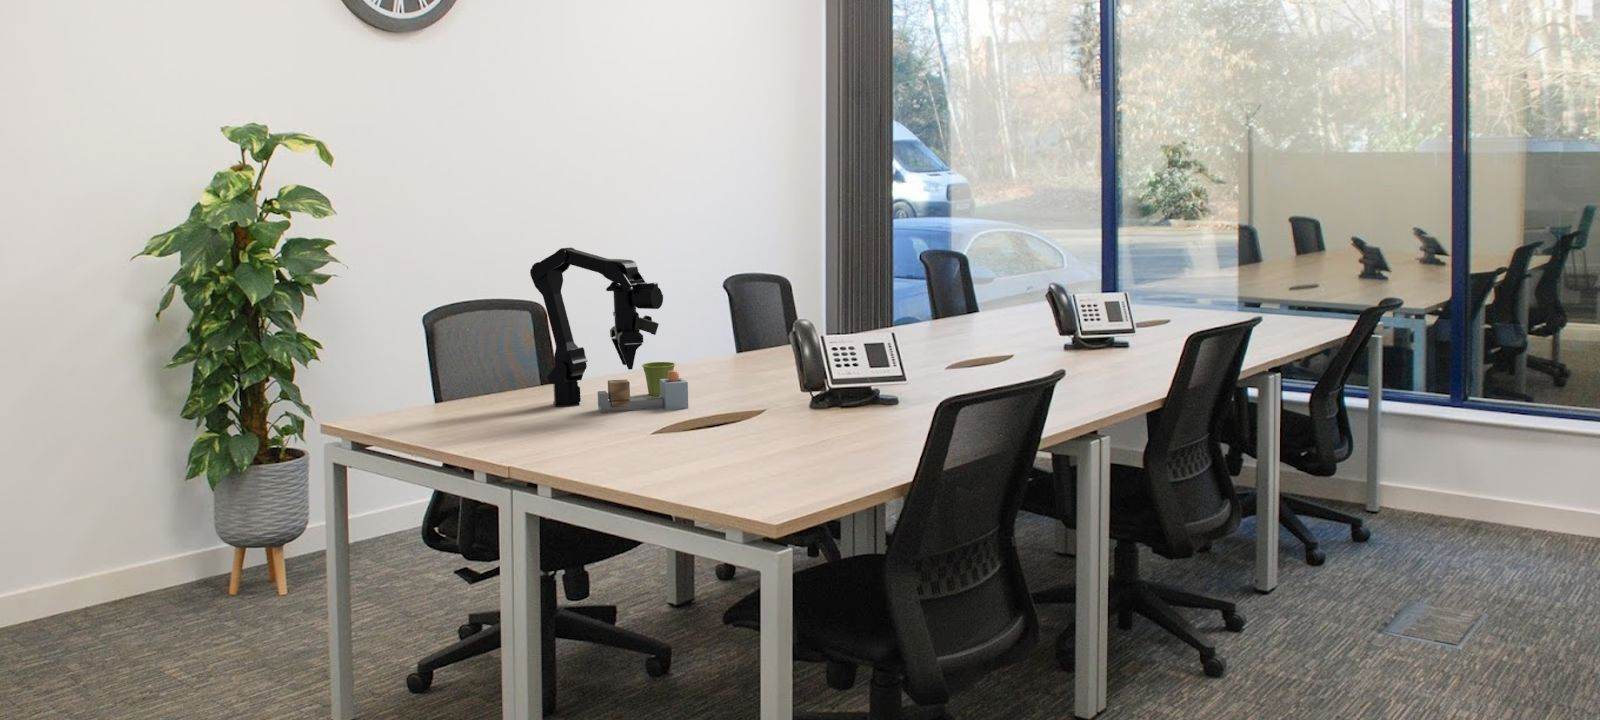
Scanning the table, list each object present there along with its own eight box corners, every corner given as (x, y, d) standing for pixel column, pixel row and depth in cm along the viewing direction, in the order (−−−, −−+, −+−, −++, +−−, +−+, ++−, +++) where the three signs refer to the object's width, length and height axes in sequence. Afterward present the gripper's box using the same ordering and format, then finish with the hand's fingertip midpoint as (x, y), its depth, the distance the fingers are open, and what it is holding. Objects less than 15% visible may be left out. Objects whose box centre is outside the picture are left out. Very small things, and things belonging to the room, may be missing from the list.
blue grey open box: (666, 409, 363) (665, 383, 362) (660, 404, 370) (659, 379, 369) (688, 408, 364) (687, 382, 363) (682, 403, 372) (681, 377, 371)
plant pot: (674, 397, 383) (673, 366, 381) (640, 397, 383) (639, 366, 382) (678, 391, 392) (677, 361, 391) (645, 392, 392) (644, 362, 391)
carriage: (611, 407, 360) (610, 383, 359) (608, 404, 365) (607, 380, 364) (630, 406, 361) (629, 382, 360) (627, 403, 366) (626, 379, 365)
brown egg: (669, 385, 365) (668, 372, 364) (667, 384, 368) (666, 370, 367) (680, 385, 366) (679, 371, 365) (678, 383, 368) (677, 370, 368)
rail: (601, 412, 359) (600, 394, 359) (598, 409, 364) (597, 391, 363) (668, 408, 364) (668, 389, 364) (665, 405, 369) (664, 387, 368)
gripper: (661, 309, 353) (664, 369, 355) (649, 303, 371) (652, 360, 373) (618, 312, 350) (621, 372, 352) (608, 305, 368) (611, 363, 370)
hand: (627, 367), depth 362 cm, fingers open, 9 cm apart
